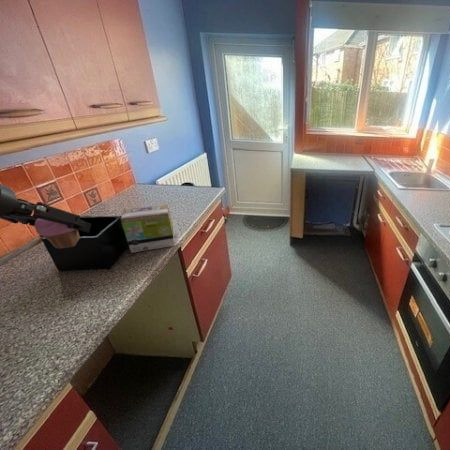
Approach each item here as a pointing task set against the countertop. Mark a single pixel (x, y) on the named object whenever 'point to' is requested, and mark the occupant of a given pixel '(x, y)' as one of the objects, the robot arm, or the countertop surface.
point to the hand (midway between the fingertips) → (71, 227)
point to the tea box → (148, 227)
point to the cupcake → (57, 233)
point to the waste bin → (92, 246)
